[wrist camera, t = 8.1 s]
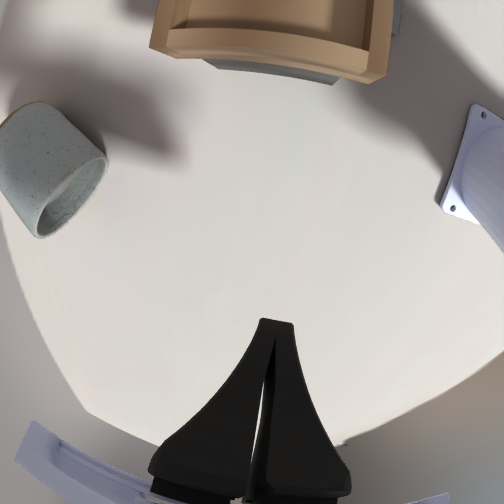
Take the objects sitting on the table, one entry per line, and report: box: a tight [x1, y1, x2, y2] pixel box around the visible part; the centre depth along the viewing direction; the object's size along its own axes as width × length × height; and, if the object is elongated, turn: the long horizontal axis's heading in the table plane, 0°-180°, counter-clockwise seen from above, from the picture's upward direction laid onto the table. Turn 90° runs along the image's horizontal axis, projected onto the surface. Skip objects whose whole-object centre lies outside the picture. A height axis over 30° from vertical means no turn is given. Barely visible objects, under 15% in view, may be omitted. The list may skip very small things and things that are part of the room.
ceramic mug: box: [0, 101, 108, 239], centre depth 16 cm, size 11×8×8 cm
